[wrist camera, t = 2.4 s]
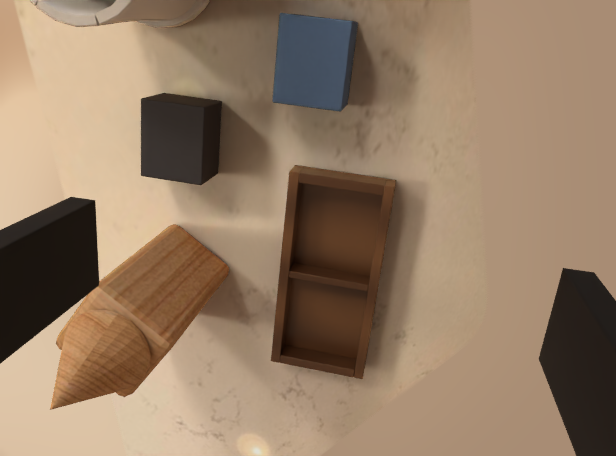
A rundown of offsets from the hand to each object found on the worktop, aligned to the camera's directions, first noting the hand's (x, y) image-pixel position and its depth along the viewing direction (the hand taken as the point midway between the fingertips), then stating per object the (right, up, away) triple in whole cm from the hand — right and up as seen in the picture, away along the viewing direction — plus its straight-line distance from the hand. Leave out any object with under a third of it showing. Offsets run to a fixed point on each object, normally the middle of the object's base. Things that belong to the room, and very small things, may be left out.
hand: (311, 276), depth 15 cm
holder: (+2, -2, +32) cm, 32 cm away
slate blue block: (+1, +14, +26) cm, 30 cm away
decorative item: (-11, -2, +35) cm, 36 cm away
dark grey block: (-10, +9, +30) cm, 33 cm away
